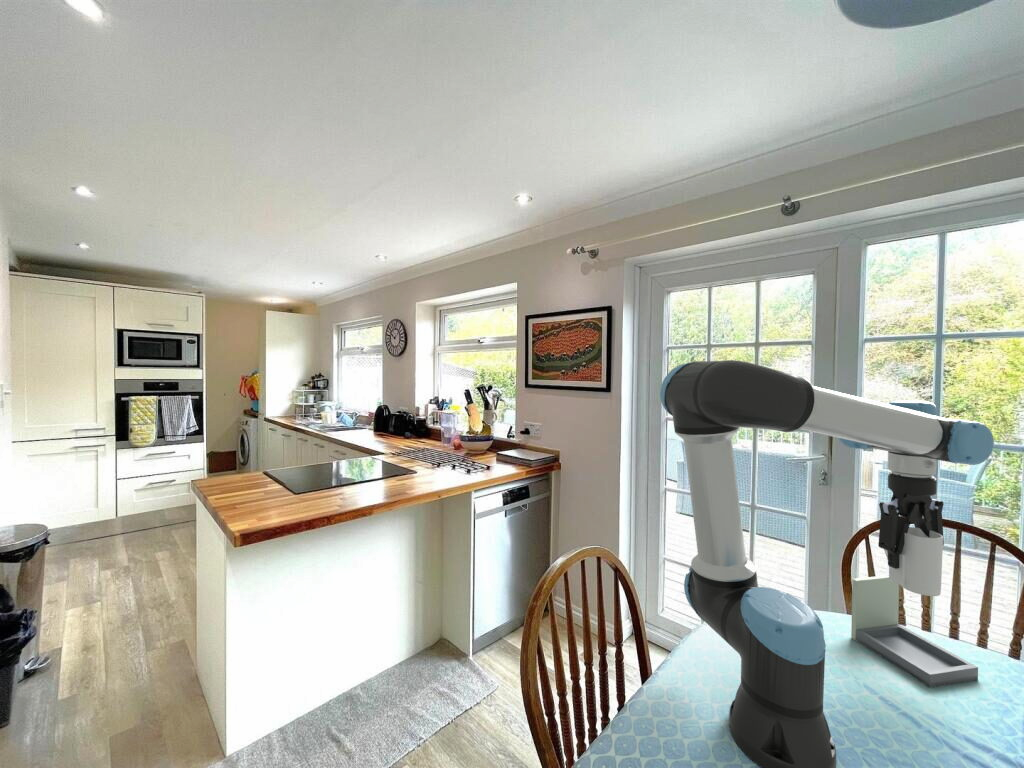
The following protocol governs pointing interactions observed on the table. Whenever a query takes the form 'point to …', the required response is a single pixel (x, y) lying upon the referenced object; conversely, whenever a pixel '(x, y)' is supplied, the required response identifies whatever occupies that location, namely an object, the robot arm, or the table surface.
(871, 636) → the mug holder
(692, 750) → the table surface
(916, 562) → the mug
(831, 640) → the table surface
